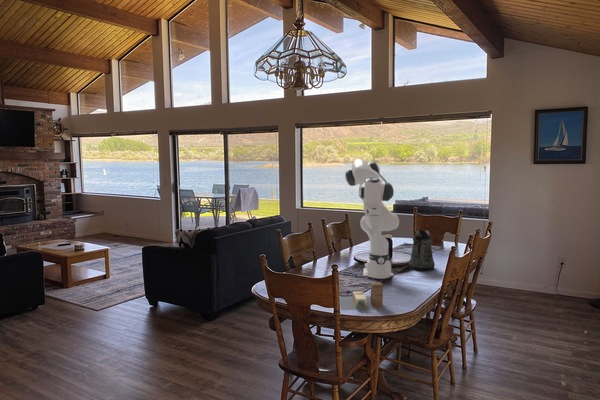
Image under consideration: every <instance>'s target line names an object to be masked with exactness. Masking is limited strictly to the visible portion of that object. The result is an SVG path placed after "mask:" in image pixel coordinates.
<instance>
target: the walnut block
mask: <svg viewBox="0 0 600 400" xmlns="http://www.w3.org/2000/svg"><path fill="white" fill-rule="evenodd" d="M370 296H371V305H372V307H382V306H383V305H384V304H383V302H384V297H383V296H384V284H383V283H382V282H381V281H380V282H379V281H377V282H375V281H374V282H370Z"/></svg>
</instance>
